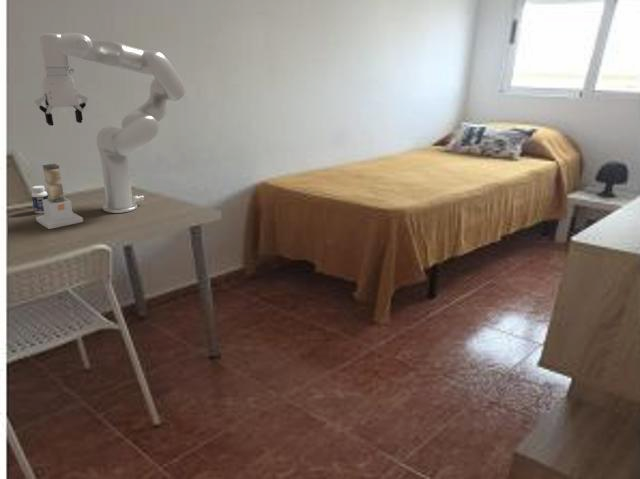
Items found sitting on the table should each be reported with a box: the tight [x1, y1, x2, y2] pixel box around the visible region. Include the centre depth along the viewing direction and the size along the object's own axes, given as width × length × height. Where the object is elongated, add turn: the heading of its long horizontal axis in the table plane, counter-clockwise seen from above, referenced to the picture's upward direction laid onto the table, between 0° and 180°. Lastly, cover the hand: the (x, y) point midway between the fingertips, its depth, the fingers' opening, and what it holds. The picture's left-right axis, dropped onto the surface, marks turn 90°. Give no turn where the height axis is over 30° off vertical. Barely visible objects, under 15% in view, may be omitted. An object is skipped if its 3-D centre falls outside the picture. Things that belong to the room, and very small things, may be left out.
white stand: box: [35, 196, 84, 230], centre depth 192 cm, size 12×12×9 cm
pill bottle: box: [31, 185, 48, 214], centre depth 202 cm, size 5×5×10 cm
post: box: [42, 163, 65, 203], centre depth 189 cm, size 4×4×14 cm
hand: (65, 123), depth 186 cm, fingers open, 9 cm apart
